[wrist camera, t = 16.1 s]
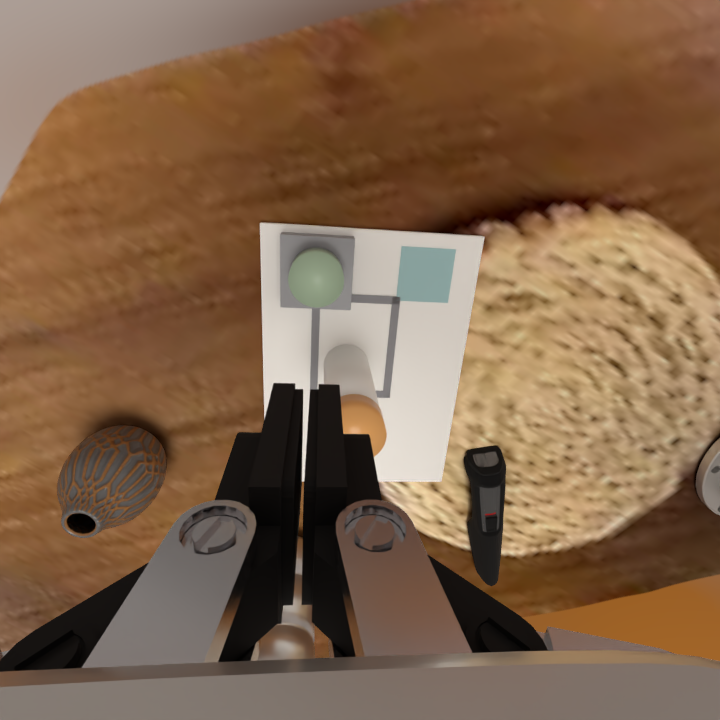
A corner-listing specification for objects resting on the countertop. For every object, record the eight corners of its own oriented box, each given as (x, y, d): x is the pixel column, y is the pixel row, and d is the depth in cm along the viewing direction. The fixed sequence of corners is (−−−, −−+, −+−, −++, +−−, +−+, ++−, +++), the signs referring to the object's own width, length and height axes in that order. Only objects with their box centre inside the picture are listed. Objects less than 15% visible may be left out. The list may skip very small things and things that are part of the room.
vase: (191, 438, 36) (154, 513, 28) (153, 492, 38) (107, 576, 30) (113, 397, 34) (49, 465, 26) (76, 456, 36) (5, 536, 28)
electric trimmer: (464, 564, 45) (474, 590, 43) (461, 449, 39) (472, 470, 36) (498, 558, 45) (510, 584, 43) (500, 442, 39) (514, 464, 36)
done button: (344, 249, 29) (345, 253, 27) (341, 300, 30) (342, 308, 28) (290, 245, 28) (288, 250, 26) (290, 298, 30) (288, 306, 28)
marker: (370, 344, 33) (389, 409, 24) (367, 386, 35) (383, 463, 25) (323, 342, 33) (323, 408, 24) (322, 385, 34) (321, 463, 25)
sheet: (481, 235, 31) (485, 237, 31) (439, 477, 40) (441, 482, 39) (261, 221, 30) (259, 222, 29) (266, 476, 38) (265, 481, 38)
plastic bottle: (328, 567, 43) (332, 853, 25) (263, 579, 43) (218, 874, 25) (316, 520, 41) (310, 800, 22) (246, 532, 41) (183, 824, 22)
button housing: (353, 236, 30) (355, 238, 29) (349, 304, 32) (350, 310, 30) (281, 231, 29) (280, 234, 28) (282, 301, 31) (280, 307, 30)
